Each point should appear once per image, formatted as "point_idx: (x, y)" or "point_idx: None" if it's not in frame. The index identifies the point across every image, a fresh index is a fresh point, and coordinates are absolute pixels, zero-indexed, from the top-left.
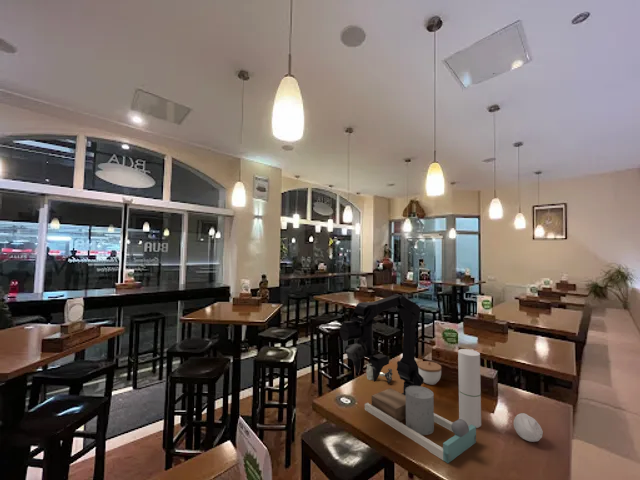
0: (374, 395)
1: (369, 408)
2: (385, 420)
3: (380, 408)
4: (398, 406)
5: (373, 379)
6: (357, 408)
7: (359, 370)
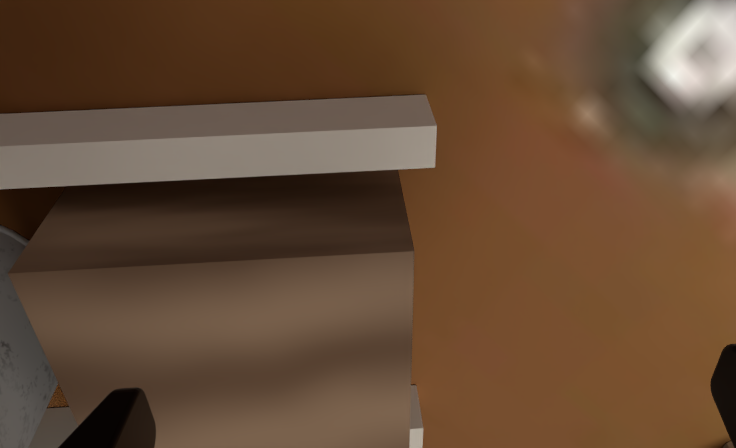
0: (393, 277)
1: (353, 120)
2: (106, 122)
3: (266, 206)
4: (54, 328)
5: (109, 424)
6: (505, 52)
7: (733, 442)
